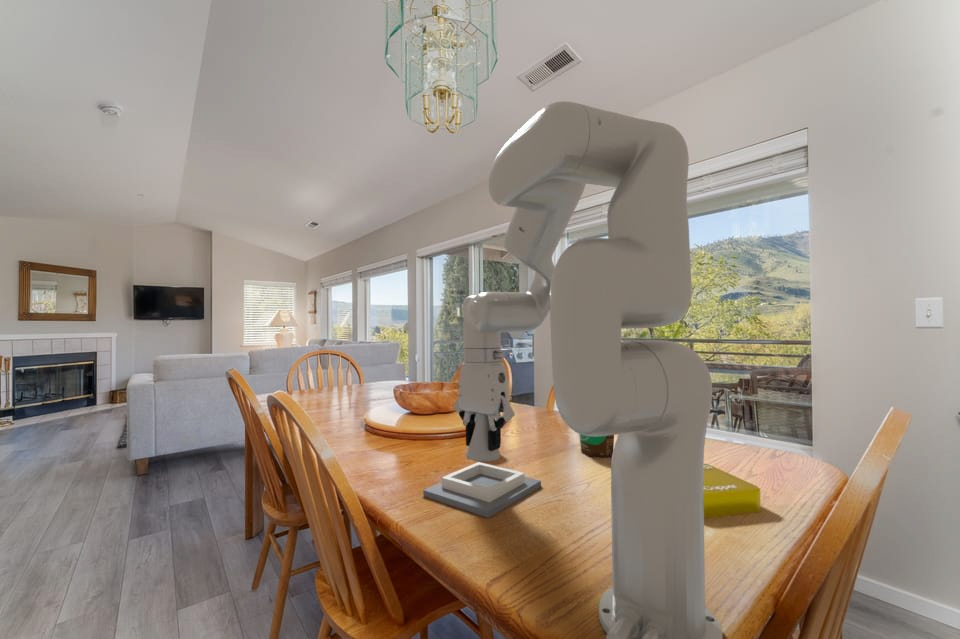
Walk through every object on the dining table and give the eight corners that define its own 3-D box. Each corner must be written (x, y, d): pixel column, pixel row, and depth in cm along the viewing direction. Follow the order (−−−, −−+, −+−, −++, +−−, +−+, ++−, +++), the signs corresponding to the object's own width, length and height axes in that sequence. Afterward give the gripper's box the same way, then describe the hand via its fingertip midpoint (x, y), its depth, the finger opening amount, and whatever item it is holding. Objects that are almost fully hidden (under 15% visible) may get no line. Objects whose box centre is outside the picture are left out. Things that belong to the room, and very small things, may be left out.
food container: (566, 449, 115) (566, 411, 115) (585, 446, 118) (584, 409, 118) (597, 462, 104) (596, 420, 104) (617, 458, 107) (616, 418, 107)
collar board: (488, 518, 75) (488, 499, 75) (423, 496, 85) (423, 479, 85) (541, 486, 89) (540, 470, 89) (480, 470, 99) (479, 456, 99)
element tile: (690, 521, 74) (690, 493, 74) (642, 488, 88) (641, 465, 89) (766, 513, 76) (766, 486, 77) (707, 483, 91) (706, 460, 91)
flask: (498, 463, 83) (497, 411, 83) (461, 461, 84) (461, 410, 84) (503, 452, 90) (503, 404, 90) (469, 450, 92) (469, 403, 92)
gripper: (528, 357, 85) (529, 449, 85) (462, 353, 95) (462, 436, 95) (506, 360, 79) (507, 459, 79) (438, 356, 90) (439, 444, 90)
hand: (482, 445), depth 87 cm, fingers closed on flask, 5 cm apart
